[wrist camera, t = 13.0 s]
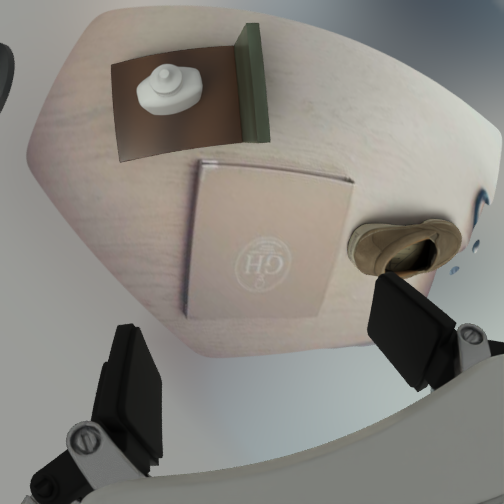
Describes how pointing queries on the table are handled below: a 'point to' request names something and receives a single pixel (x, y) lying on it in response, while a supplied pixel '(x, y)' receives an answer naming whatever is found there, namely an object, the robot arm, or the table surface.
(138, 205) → the table surface
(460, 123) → the table surface
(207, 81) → the shelf
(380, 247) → the slip on shoe
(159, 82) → the eye dropper bottle
